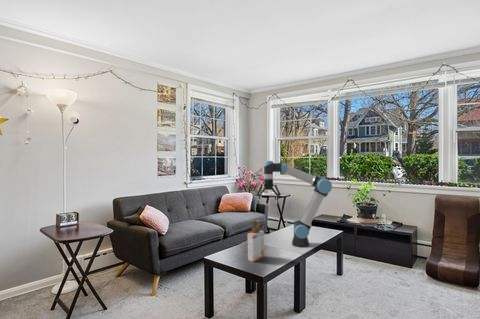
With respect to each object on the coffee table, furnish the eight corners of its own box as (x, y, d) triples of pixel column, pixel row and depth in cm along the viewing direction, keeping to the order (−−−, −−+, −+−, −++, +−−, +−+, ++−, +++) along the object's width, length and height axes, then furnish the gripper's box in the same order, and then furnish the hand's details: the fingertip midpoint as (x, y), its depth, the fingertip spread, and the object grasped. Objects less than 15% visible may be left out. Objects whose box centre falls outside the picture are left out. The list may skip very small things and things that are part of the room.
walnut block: (259, 231, 229) (259, 219, 228) (258, 233, 224) (258, 221, 224) (253, 231, 230) (253, 219, 230) (252, 232, 225) (252, 221, 225)
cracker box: (258, 255, 234) (258, 229, 234) (264, 257, 230) (264, 230, 230) (247, 260, 224) (247, 233, 224) (253, 262, 220) (253, 234, 220)
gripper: (283, 178, 253) (283, 203, 253) (255, 178, 259) (255, 202, 259) (282, 179, 245) (282, 204, 246) (253, 178, 251) (253, 203, 252)
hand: (268, 203), depth 252 cm, fingers open, 13 cm apart
